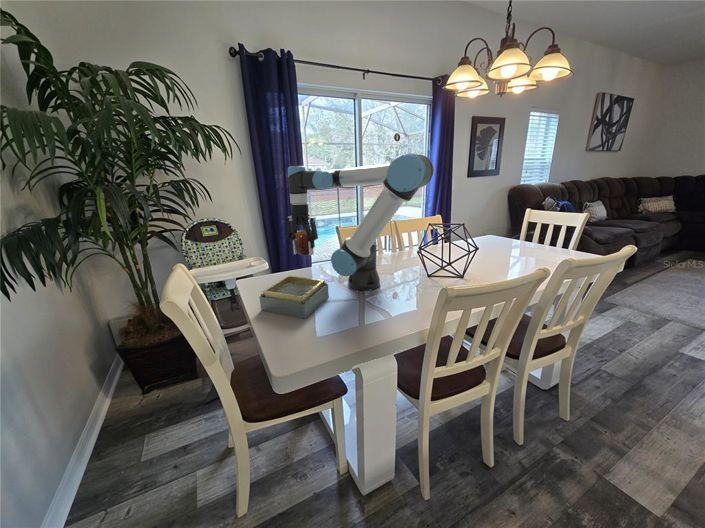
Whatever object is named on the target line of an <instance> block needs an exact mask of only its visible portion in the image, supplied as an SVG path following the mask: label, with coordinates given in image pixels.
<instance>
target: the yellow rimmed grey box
mask: <svg viewBox="0 0 705 528" xmlns="http://www.w3.org/2000/svg"><path fill="white" fill-rule="evenodd" d="M325 281H326V280H325V279H318V278H311V277H302V276H296V275H295V276H294V275H287V276H285V277H283V278H282V279H280V280H279V281H277V282H275V283H273V284H272V285H270V286H269V287H267V288H266V289H264V290H262V291H261V292H262V293H260V296H259V297H258V298H259V302H260V310H261V311H263V312H269V313H273V314H277V315H283V316H289V317H294V318H298V319H299V318H300V319H303V320H304V319H307V318H308V317H309V316H310V315H311V314H312V313H314V311H315V310H317V308H318V307H320V306H321V305H322V304H323V303H324V302H326V300H327V299H328V298H329V283H327V282H325Z"/></svg>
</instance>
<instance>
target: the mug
mask: <svg viewBox="0 0 705 528" xmlns="http://www.w3.org/2000/svg"><path fill="white" fill-rule="evenodd" d="M294 235H295V237H296V241H297V251H298V253H297V254H298V255H300V256H309V245H308V241H310V240H309V237H308V235H307V233H306V230H305V229H303V230H298V231H297V234H295V233H294Z"/></svg>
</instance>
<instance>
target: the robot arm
mask: <svg viewBox="0 0 705 528" xmlns="http://www.w3.org/2000/svg"><path fill="white" fill-rule="evenodd" d="M434 170H435V169H434V165H433V162H432V161H431V159H430V158H429V157H428V156H425V155H423V154H416V153H408V152H407V153H404V154H403V153H402V154H401V155H398V156H396V157H395V158H394V159H392V161H391V162H389V163H385V164H377V165H365V166H357V167H347V168H338V169H336V168H335V169H324V170H323V169H318V170H307V169H306V167H305V166H304V165H297V166H296V165H291V166H288V167H287V181H288V182H287V183H288V191H289V201H290V202H289V203H290V204H291V205H290V210H291V211H290V212H291V215H290V216H289V215H288V216H286V217H285V219H286V238H287V239H289V240H290V242H291V247H292V248H293V255H297V254H298V251H297V241H296V237H295V235H294V233H295V234H297V231H299V226H302V227H303V228H304V230H306V233H307V235H308V237H309V240H310V241H308V245H309V255H308V256H313V255H315V254H314V251H315V250H314V249H315V246H316V245H315V241H316V240H318V239H319V235H318V230H317V225H316V217H315V216H313V217H312V216H310V214H309V213H310V211H309V210H310V209H309V208H310V207H309V203H308V202H309V200H308V199H309V198H308V191H309V190H311V191H313V190H317V191H325V190H329V189H333V188H345V187H347V188H348V187H358V186H360V187H361V186H376V185H383V188H382V191H381V192H380V193H379V195H378V196H377V198H376V200H374V201H375V202H374V203H373V204H372V206H371V207H370V208H369V210H368V212H367V213H366V215H365V216H364V217H363V219H362V221H361V223H360V224H359V226H358V227H357V228H356V230H355V231H354V233H353V234H352V236H348V237H347V238H345V240H344V241H343V243H342V244H341V246H340V247H339V248H337V249H336V250H335V251H334V252H333V253H331V257H330V263H331V266H332V268H333V270H334V271H335V272H336V273H337V274H338V275H340V276H342V277H348V278H347V286H348V287H349V288H351V289H353V290H356V291H372V290H375V289H377V288H380V286H381V280H380V276H379V273H378V270H377V253H378V252H377V251H378V249H377V248H378V244H377V239H378V238H379V236H380V235H381V234H382V232H384V230H385V229H386V227H387V225H388V224H389V223H390V222H391V220H392V218H393V217H394V216H395V215H396V213H397V212H398V211H399V209H400V208H401V206H403V204H404V203H406V202H409V201H411V199H413V197H414V196H415V194H416V193H418V191H419V189H420V188H422V187H425V186H426V185H428V184H429V183H430V181H431V180H432V178H433V176H434Z"/></svg>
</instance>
